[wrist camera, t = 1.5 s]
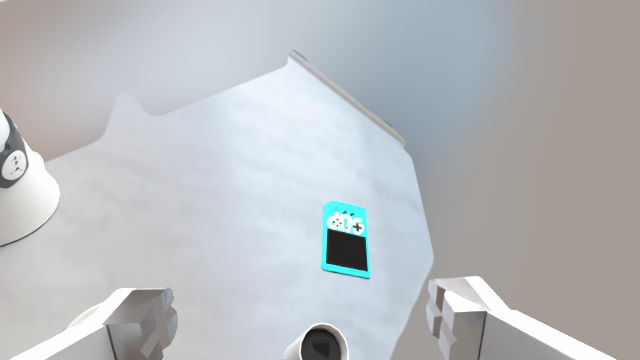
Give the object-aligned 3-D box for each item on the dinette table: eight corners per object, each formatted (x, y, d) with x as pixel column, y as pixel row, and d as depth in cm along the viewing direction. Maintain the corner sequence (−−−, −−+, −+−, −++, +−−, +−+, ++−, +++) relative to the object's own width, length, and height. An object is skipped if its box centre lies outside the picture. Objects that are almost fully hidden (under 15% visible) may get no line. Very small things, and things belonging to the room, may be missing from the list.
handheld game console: (364, 211, 69) (367, 208, 68) (368, 280, 58) (372, 278, 57) (322, 200, 66) (325, 197, 65) (320, 271, 56) (322, 268, 55)
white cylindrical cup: (277, 339, 46) (297, 323, 39) (318, 337, 48) (344, 321, 41) (279, 393, 42) (301, 386, 35) (323, 387, 44) (353, 380, 37)
